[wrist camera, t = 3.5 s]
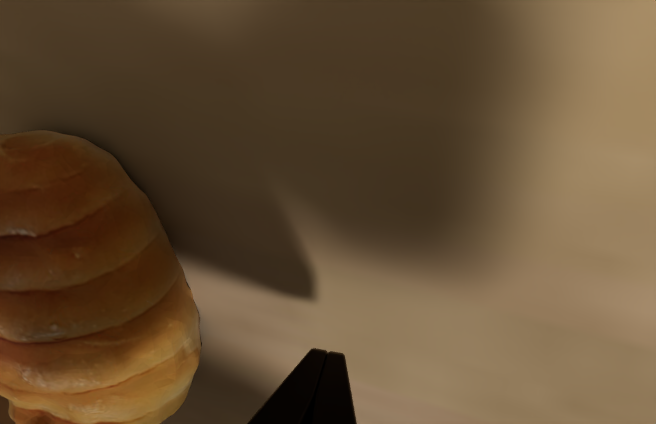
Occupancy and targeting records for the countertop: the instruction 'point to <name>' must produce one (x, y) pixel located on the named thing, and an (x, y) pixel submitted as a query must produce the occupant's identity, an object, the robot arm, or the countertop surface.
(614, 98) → the countertop surface
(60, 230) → the pastry
